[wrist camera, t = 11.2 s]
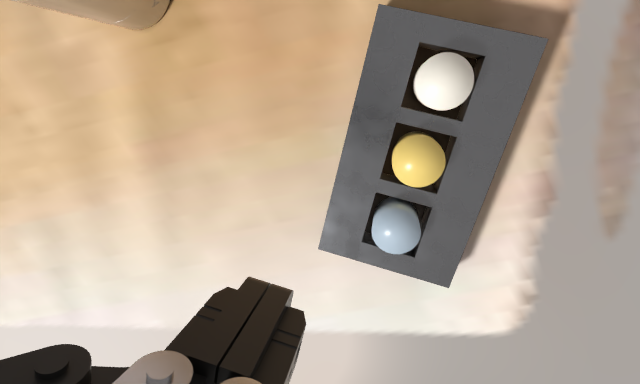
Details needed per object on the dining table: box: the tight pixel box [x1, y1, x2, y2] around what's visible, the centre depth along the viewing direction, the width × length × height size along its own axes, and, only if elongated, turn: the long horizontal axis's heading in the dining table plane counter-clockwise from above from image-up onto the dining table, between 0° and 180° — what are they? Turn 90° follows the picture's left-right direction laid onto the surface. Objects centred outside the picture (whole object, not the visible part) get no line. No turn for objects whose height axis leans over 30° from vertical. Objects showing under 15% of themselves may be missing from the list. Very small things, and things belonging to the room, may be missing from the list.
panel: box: [318, 4, 548, 288], centre depth 34 cm, size 14×24×3 cm, turn 167°
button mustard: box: [392, 131, 446, 187], centre depth 33 cm, size 5×5×4 cm
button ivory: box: [413, 52, 474, 111], centre depth 30 cm, size 5×5×4 cm
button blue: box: [372, 197, 421, 254], centre depth 35 cm, size 5×5×4 cm
